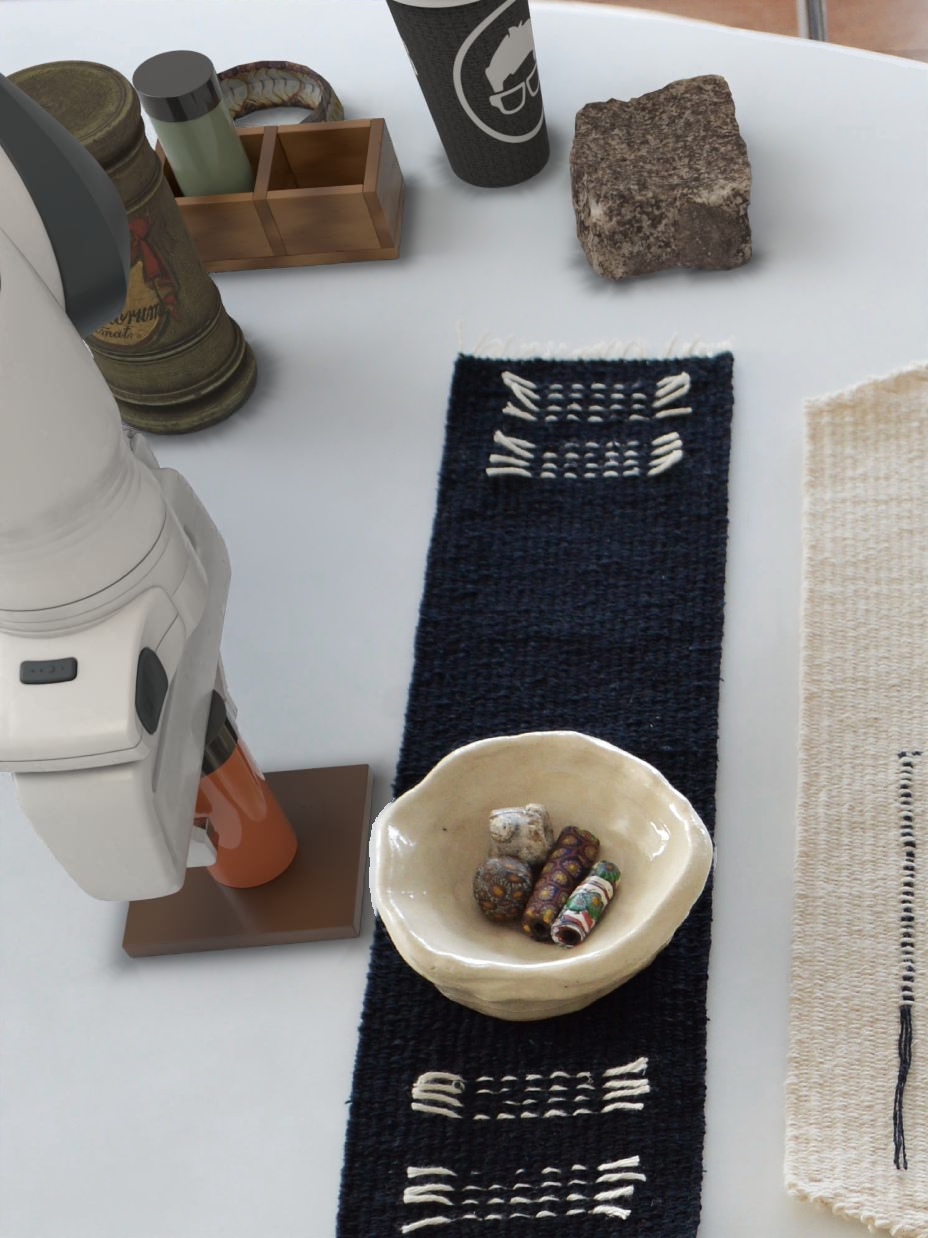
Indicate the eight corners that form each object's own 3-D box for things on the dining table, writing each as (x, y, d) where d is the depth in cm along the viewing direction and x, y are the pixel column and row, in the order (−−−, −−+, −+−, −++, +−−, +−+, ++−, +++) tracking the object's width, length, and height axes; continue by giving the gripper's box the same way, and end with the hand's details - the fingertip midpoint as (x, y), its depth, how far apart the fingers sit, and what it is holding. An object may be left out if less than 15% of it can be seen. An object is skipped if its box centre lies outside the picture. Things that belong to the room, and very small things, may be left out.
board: (129, 957, 90) (120, 946, 89) (157, 793, 95) (149, 781, 94) (359, 937, 90) (352, 926, 89) (374, 775, 95) (368, 763, 94)
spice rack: (172, 275, 116) (141, 208, 112) (187, 201, 120) (157, 133, 116) (398, 258, 117) (375, 191, 112) (406, 185, 120) (384, 117, 116)
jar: (192, 249, 116) (126, 100, 108) (201, 201, 118) (137, 52, 110) (268, 243, 116) (208, 94, 108) (275, 196, 119) (217, 47, 110)
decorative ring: (361, 174, 121) (341, 87, 126) (345, 128, 118) (325, 41, 123) (203, 206, 120) (189, 116, 124) (183, 160, 117) (170, 70, 122)
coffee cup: (557, 100, 125) (504, -131, 112) (586, 184, 120) (535, -47, 107) (416, 129, 123) (345, -102, 111) (440, 216, 119) (369, -15, 106)
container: (130, 333, 113) (-10, 52, 98) (276, 335, 113) (158, 54, 98) (88, 436, 109) (-66, 158, 93) (240, 438, 108) (111, 160, 93)
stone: (756, 182, 111) (764, 270, 116) (726, 61, 118) (734, 148, 123) (570, 201, 110) (585, 289, 115) (551, 77, 117) (566, 165, 122)
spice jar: (197, 894, 90) (111, 766, 82) (209, 817, 93) (126, 684, 84) (295, 885, 91) (219, 756, 82) (304, 808, 93) (231, 676, 84)
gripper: (47, 411, 81) (171, 629, 93) (-42, 783, 70) (111, 975, 82) (194, 400, 81) (299, 619, 93) (128, 768, 70) (256, 962, 82)
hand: (211, 789), depth 87 cm, fingers open, 6 cm apart
